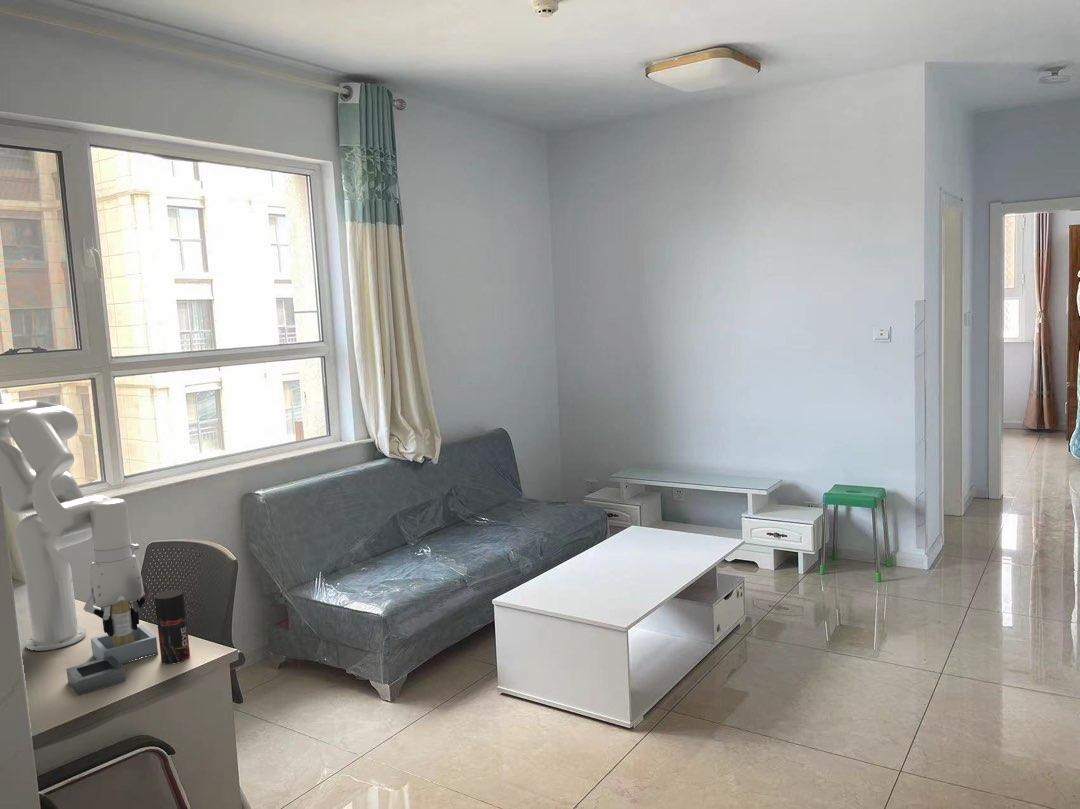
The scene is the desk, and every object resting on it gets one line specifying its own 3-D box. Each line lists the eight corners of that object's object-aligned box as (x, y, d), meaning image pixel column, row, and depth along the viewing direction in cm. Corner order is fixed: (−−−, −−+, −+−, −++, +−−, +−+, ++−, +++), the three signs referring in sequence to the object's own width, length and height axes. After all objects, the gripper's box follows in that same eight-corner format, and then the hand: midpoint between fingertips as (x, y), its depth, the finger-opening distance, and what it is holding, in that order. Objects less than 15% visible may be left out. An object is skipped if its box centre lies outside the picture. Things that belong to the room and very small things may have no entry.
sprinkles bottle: (117, 643, 189) (111, 587, 188) (138, 641, 190) (131, 585, 188) (109, 651, 185) (102, 594, 183) (130, 649, 185) (123, 592, 183)
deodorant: (184, 663, 181) (177, 597, 179) (157, 665, 180) (150, 599, 179) (193, 652, 187) (187, 588, 185) (167, 654, 186) (160, 590, 185)
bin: (92, 655, 188) (90, 638, 187) (143, 641, 195) (141, 624, 194) (105, 669, 180) (103, 652, 179) (158, 653, 187) (156, 637, 186)
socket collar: (67, 682, 174) (66, 668, 174) (114, 668, 180) (112, 655, 179) (78, 695, 167) (76, 681, 167) (125, 681, 173) (124, 667, 173)
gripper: (148, 542, 193) (156, 617, 195) (67, 559, 182) (76, 638, 184) (158, 548, 187) (166, 625, 189) (75, 566, 176) (85, 647, 178)
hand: (122, 630), depth 187 cm, fingers closed on sprinkles bottle, 4 cm apart
